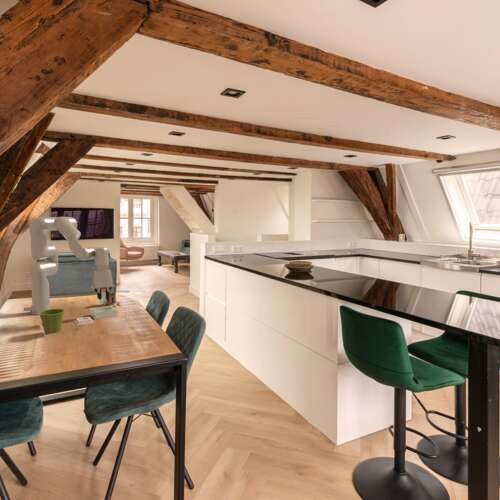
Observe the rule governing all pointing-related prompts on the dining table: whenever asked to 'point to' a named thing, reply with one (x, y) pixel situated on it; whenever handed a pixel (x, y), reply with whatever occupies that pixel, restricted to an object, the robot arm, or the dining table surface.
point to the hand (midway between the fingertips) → (103, 298)
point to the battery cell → (103, 296)
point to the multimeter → (112, 296)
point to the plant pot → (52, 320)
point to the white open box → (103, 312)
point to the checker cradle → (83, 320)
